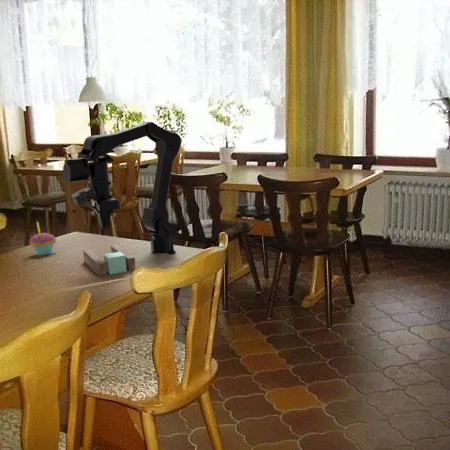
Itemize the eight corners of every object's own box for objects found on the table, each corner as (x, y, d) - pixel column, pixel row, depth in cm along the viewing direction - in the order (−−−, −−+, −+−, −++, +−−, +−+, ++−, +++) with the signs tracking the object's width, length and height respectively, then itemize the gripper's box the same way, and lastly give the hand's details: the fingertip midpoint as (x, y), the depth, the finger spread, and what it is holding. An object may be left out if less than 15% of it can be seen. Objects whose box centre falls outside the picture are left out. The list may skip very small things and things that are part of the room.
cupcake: (49, 257, 215) (45, 222, 212) (26, 257, 217) (21, 222, 214) (61, 250, 223) (57, 216, 221) (38, 250, 225) (34, 216, 222)
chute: (118, 258, 210) (116, 244, 209) (135, 271, 194) (134, 257, 193) (84, 263, 205) (82, 250, 204) (99, 278, 189) (98, 263, 188)
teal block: (121, 267, 196) (120, 251, 195) (126, 271, 192) (125, 255, 191) (105, 270, 194) (103, 254, 193) (110, 274, 190) (108, 258, 189)
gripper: (65, 177, 200) (70, 226, 204) (80, 185, 184) (85, 238, 187) (100, 173, 205) (105, 221, 208) (118, 180, 188) (123, 233, 192)
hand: (104, 228), depth 199 cm, fingers closed
